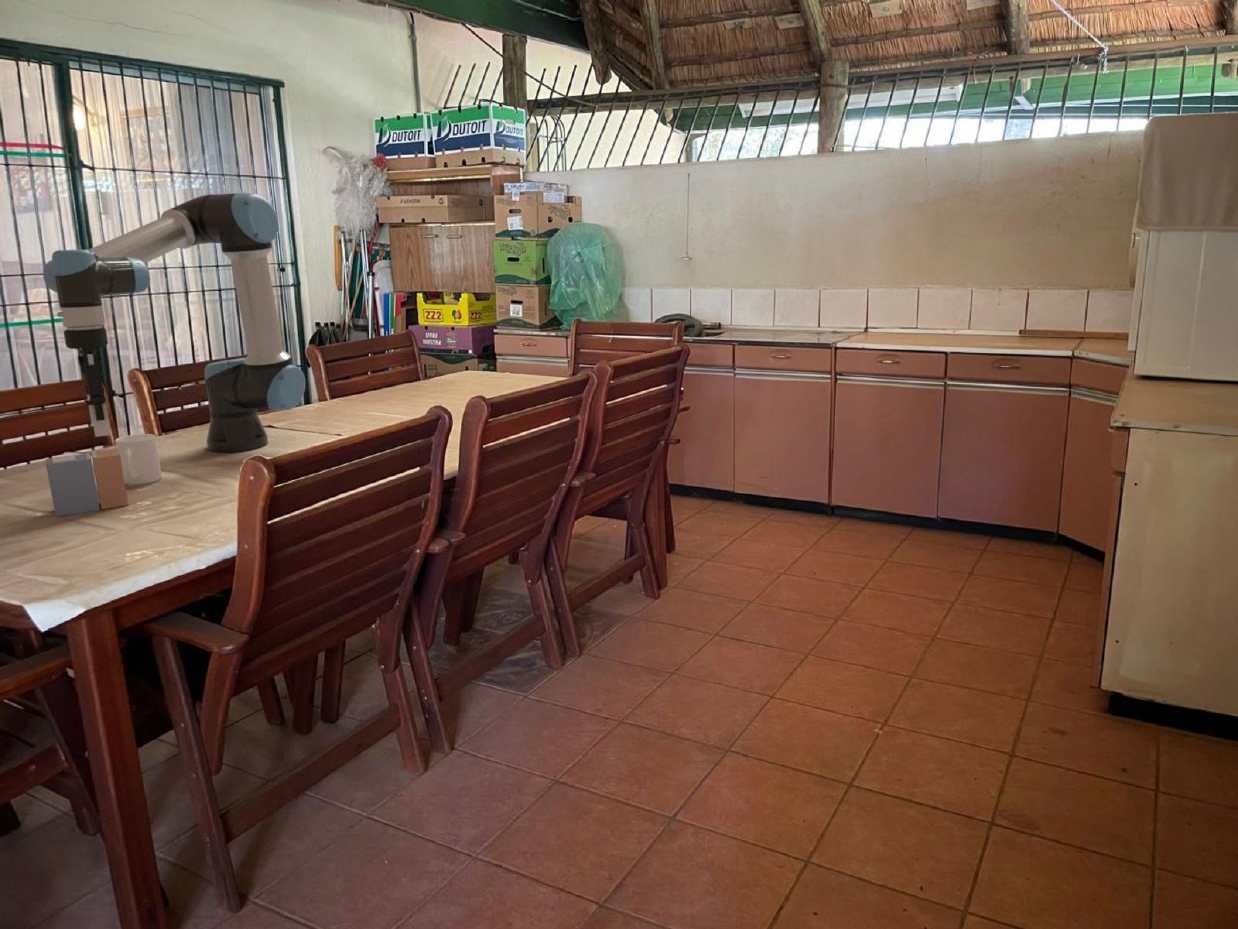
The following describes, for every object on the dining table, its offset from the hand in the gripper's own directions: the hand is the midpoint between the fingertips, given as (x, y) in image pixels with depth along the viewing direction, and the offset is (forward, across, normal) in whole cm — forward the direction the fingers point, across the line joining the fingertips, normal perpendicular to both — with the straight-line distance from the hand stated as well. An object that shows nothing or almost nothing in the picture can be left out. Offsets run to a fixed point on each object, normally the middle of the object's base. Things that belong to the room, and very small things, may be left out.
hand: (101, 430), depth 193 cm
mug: (+16, -16, +6) cm, 24 cm away
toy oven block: (+16, 0, -7) cm, 18 cm away
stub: (+16, 0, 0) cm, 16 cm away
